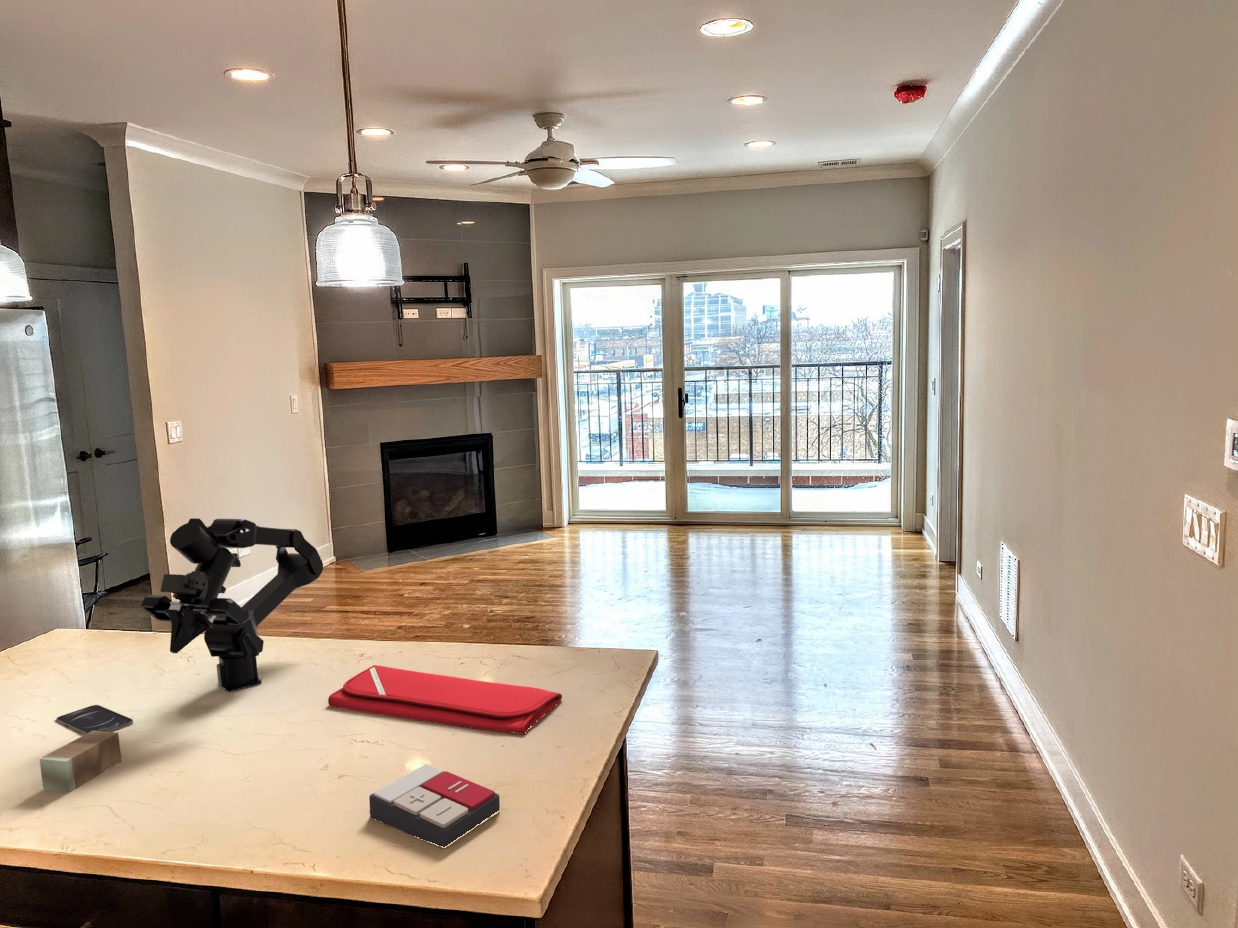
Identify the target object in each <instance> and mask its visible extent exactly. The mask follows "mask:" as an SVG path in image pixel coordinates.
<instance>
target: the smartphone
mask: <svg viewBox="0 0 1238 928" xmlns="http://www.w3.org/2000/svg"><path fill="white" fill-rule="evenodd" d="M55 719H56V721H55V722H57V723H60V724H61V725H63V726H65V727H66V728H69V729H71V730H73V731H74V732H77V733H79V734H82V736H83V735H85V734H87V733H89V732H91V731H93V730H94V731H106V732H116V731H118V730H121V728H122V729H124V727H125V728H127V727H130V726H132V725H133V724H134V719H133V718H130V717H128V716H125V715H123V714H121V713H119V712H116V711H114V710H111V709H109V708H107V707H104V706H102V705H99V704H94V705H93V704H92V705H90V706H86V707H84V708H81V709H78V710H75V711H72V712H68V713H65V714H62V715H59V716H57V717H56V718H55ZM126 726H127V727H126Z"/></svg>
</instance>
